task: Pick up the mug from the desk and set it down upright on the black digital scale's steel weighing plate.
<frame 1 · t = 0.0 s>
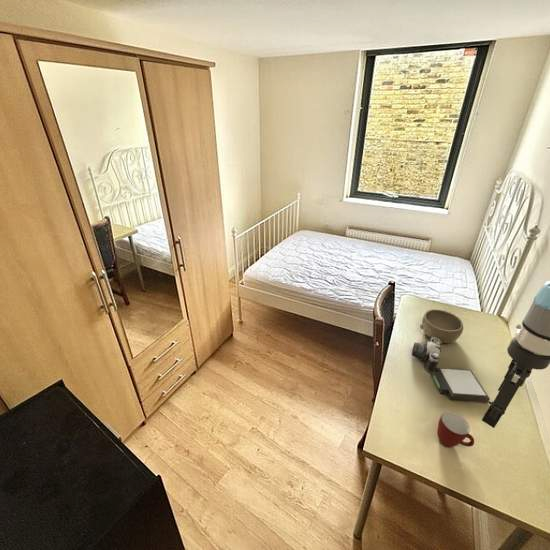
hand: (496, 407, 75), 29 cm above the table, tool pointing down, fingers open, 13 cm apart
mug: (449, 443, 96), on the table
bowl: (437, 335, 143), on the table
camera: (423, 359, 129), on the table
scale: (459, 386, 116), on the table
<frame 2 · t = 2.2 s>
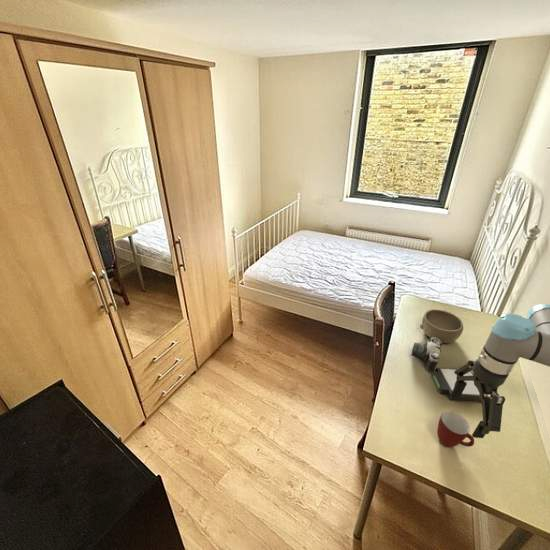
hand: (465, 415, 89), 14 cm above the table, tool pointing down, fingers open, 13 cm apart
nothing on the table moved.
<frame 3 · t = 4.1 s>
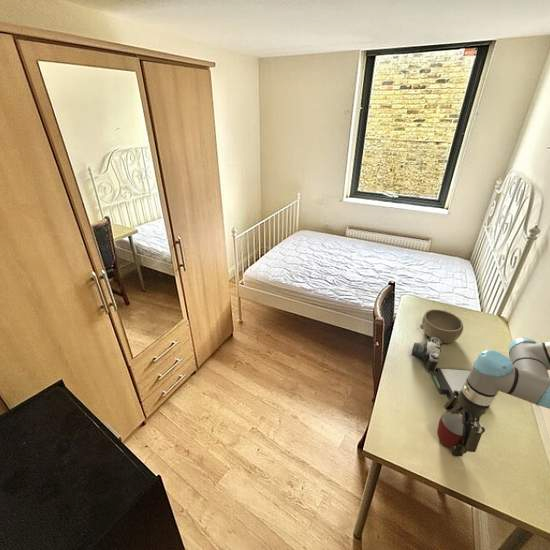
hand: (450, 441, 96), 0 cm above the table, tool pointing down, fingers closed on mug, 8 cm apart
mug: (449, 443, 96), on the table, touching gripper
everything else where it was.
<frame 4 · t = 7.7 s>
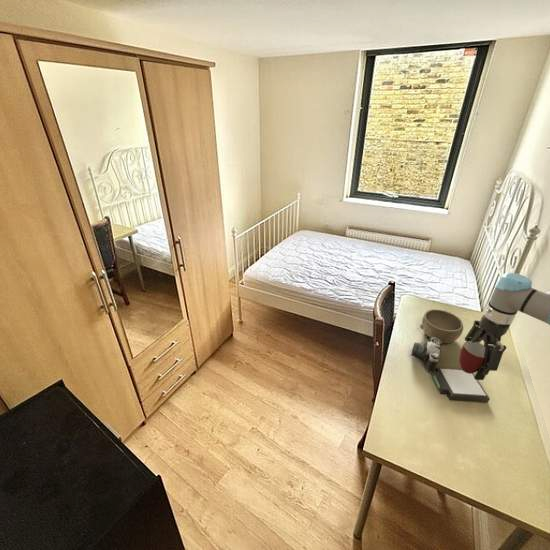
hand: (471, 369, 104), 15 cm above the table, tool pointing down, fingers closed on mug, 8 cm apart
mug: (470, 370, 104), point 15 cm above the table, touching gripper
everything else where it was.
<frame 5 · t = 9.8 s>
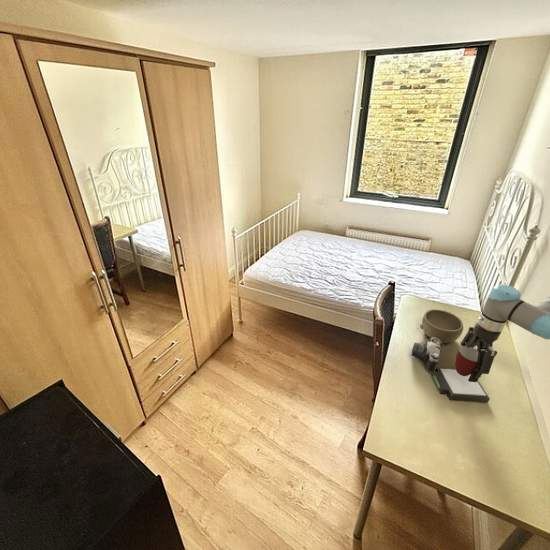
hand: (466, 372, 113), 8 cm above the table, tool pointing down, fingers closed on mug, 8 cm apart
mug: (465, 373, 113), point 8 cm above the table, touching gripper
everything else where it was.
when the fingers open (3 cm above the table, at t = 11.4 s): mug stays where it is, resting on scale.
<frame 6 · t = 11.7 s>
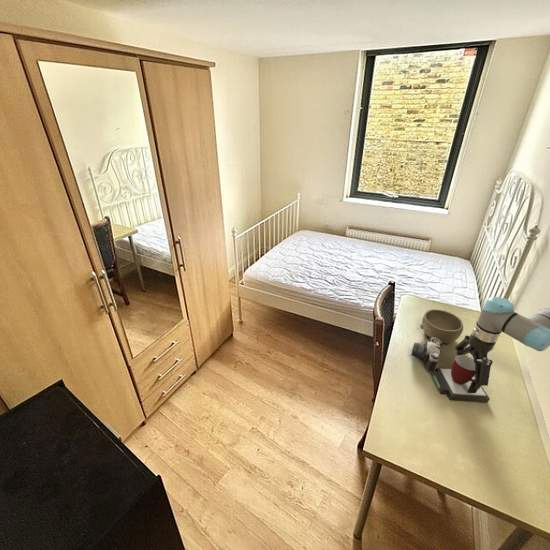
hand: (463, 379, 114), 4 cm above the table, tool pointing down, fingers open, 12 cm apart
mug: (461, 382, 115), point 3 cm above the table, touching scale
everything else where it was.
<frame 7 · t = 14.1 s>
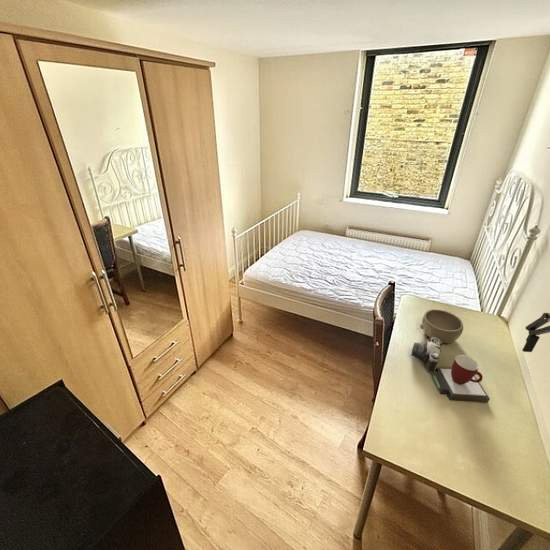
hand: (541, 365, 95), 24 cm above the table, tool pointing down, fingers open, 13 cm apart
nothing on the table moved.
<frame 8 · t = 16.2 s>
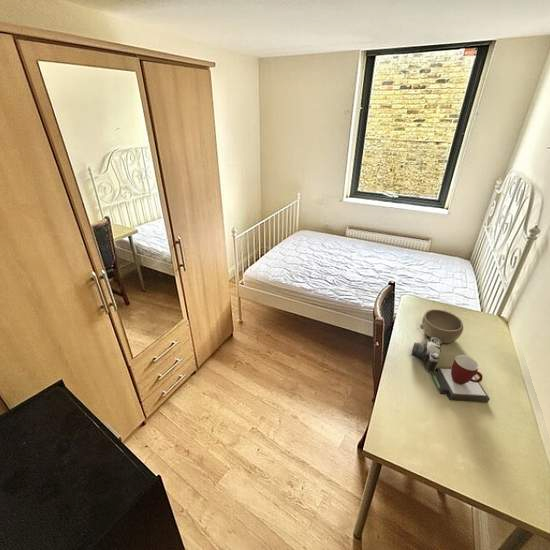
nothing on the table moved.
at the end: mug inside the target area on the scale (0.5 cm from its centre), point 2.8 cm above the scale's base; mug tilted 0°; the gripper is holding nothing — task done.
